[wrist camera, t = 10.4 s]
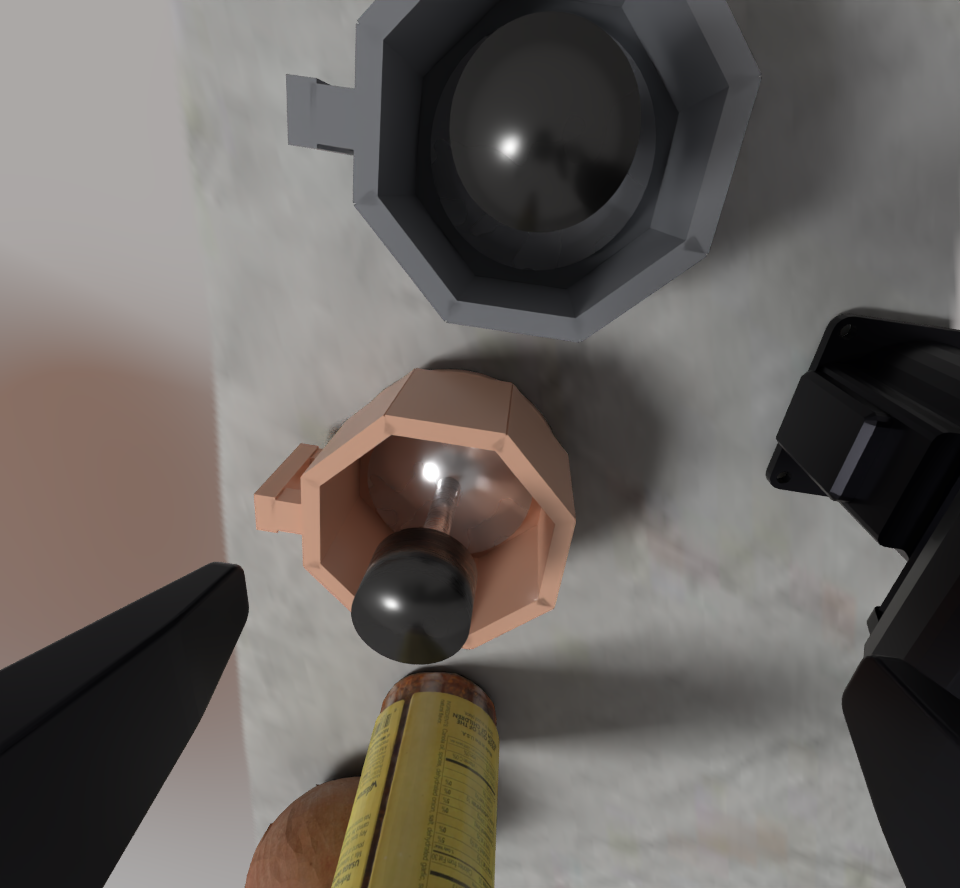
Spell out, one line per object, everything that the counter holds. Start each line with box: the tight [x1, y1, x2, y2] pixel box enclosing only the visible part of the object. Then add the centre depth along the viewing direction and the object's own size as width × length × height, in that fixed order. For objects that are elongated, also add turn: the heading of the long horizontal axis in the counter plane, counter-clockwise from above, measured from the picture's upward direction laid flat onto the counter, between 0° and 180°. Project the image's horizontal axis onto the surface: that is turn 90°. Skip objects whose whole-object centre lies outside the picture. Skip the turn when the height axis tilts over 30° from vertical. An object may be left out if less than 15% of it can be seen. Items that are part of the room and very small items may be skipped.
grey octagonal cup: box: [286, 0, 762, 342], centre depth 14 cm, size 10×9×5 cm
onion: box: [245, 777, 361, 888], centre depth 28 cm, size 10×9×10 cm
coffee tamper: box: [431, 11, 656, 270], centre depth 12 cm, size 6×6×8 cm
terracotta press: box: [254, 368, 576, 649], centre depth 19 cm, size 10×9×5 cm
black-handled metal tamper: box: [351, 435, 532, 664], centre depth 17 cm, size 6×6×8 cm
